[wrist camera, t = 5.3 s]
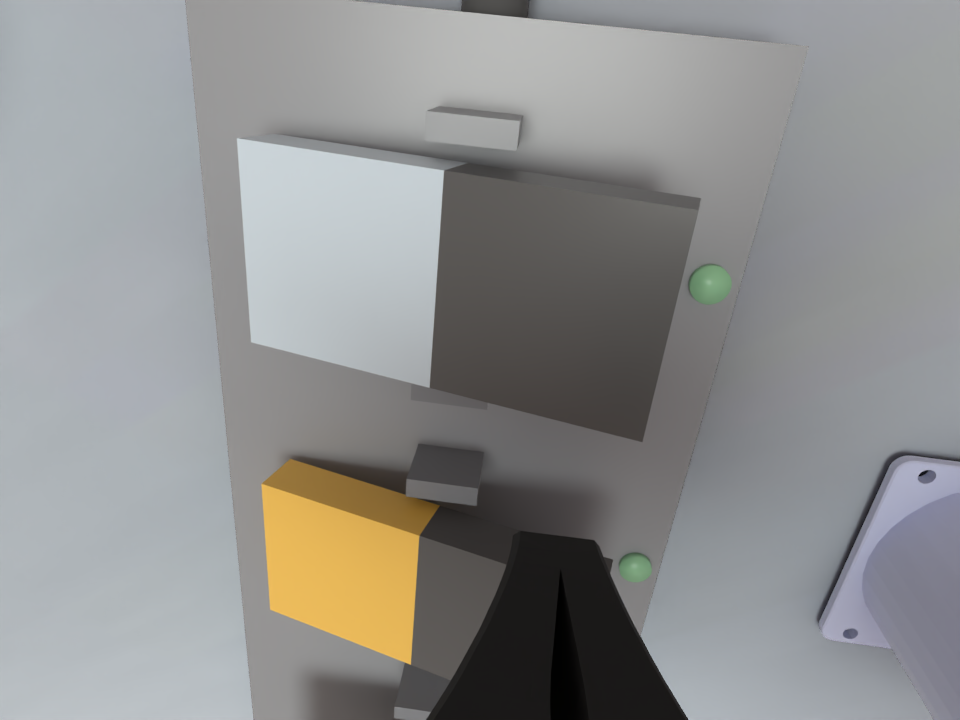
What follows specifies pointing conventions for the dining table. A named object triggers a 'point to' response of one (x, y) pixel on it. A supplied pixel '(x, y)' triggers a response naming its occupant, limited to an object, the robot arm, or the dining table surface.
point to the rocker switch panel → (491, 142)
